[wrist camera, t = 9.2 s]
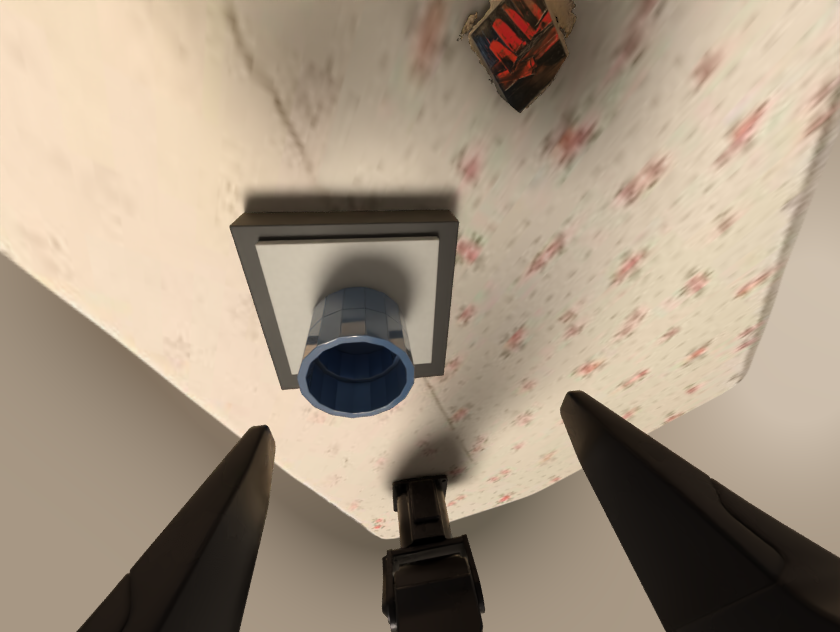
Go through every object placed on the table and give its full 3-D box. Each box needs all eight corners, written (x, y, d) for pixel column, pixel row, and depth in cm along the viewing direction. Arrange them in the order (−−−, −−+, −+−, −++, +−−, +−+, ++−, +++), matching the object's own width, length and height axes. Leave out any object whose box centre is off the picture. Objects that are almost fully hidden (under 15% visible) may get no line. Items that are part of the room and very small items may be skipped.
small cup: (403, 353, 21) (413, 412, 17) (319, 359, 20) (308, 423, 16) (403, 280, 18) (415, 331, 14) (304, 284, 17) (286, 340, 13)
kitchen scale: (437, 355, 26) (445, 381, 24) (288, 367, 24) (279, 397, 22) (449, 209, 19) (462, 224, 17) (243, 212, 18) (224, 229, 15)
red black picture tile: (523, 120, 17) (527, 120, 17) (450, 51, 15) (452, 49, 14) (588, 24, 15) (594, 22, 15) (514, -70, 13) (519, -75, 13)
